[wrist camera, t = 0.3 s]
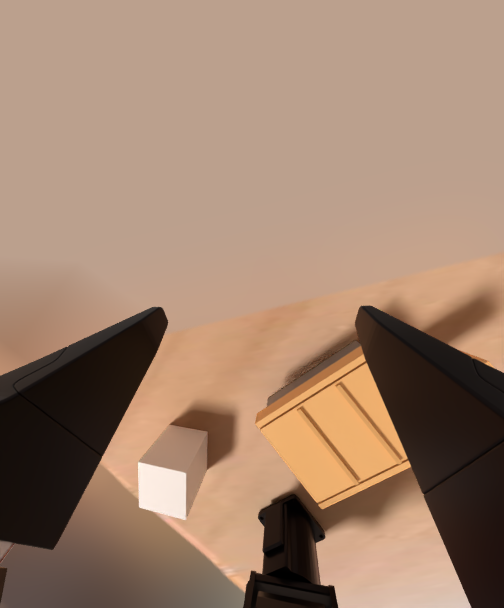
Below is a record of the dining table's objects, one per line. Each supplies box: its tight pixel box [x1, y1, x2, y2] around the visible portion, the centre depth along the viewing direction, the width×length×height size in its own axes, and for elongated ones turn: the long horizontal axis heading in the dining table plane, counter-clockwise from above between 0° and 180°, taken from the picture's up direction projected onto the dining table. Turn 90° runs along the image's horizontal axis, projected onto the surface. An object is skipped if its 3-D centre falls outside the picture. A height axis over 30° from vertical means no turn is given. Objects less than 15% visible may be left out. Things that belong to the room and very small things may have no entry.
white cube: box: [138, 425, 208, 520], centre depth 24 cm, size 6×6×6 cm
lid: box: [255, 346, 494, 509], centre depth 17 cm, size 11×19×4 cm, turn 129°
